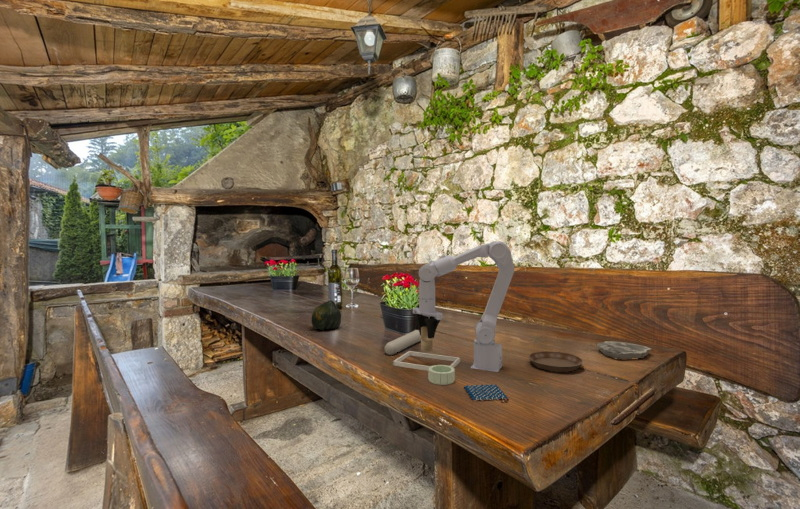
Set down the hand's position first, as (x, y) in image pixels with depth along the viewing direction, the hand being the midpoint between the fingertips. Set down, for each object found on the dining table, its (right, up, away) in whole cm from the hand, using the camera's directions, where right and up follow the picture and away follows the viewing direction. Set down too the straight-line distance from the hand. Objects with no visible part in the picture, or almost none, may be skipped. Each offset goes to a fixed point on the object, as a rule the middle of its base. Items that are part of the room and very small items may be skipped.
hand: (427, 336), depth 137 cm
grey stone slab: (+76, -10, +14) cm, 78 cm away
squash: (-46, -8, +57) cm, 74 cm away
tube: (-8, -10, +23) cm, 26 cm away
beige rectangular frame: (0, -10, 0) cm, 10 cm away
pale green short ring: (+3, -11, -16) cm, 19 cm away
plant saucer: (+45, -11, 0) cm, 46 cm away
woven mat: (+15, -12, -27) cm, 33 cm away
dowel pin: (0, -5, 0) cm, 5 cm away
